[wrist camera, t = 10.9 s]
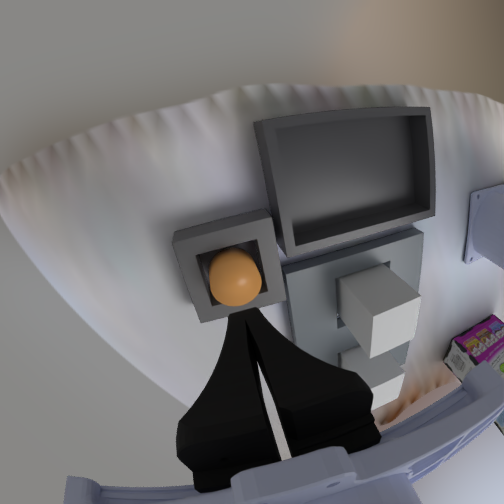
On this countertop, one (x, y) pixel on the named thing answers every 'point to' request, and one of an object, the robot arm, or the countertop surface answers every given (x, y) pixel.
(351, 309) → the pale grey block
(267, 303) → the button housing
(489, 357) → the candy bar box
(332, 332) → the grey slotted board
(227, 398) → the robot arm
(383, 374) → the seated block
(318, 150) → the tote
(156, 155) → the countertop surface
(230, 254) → the orange button
